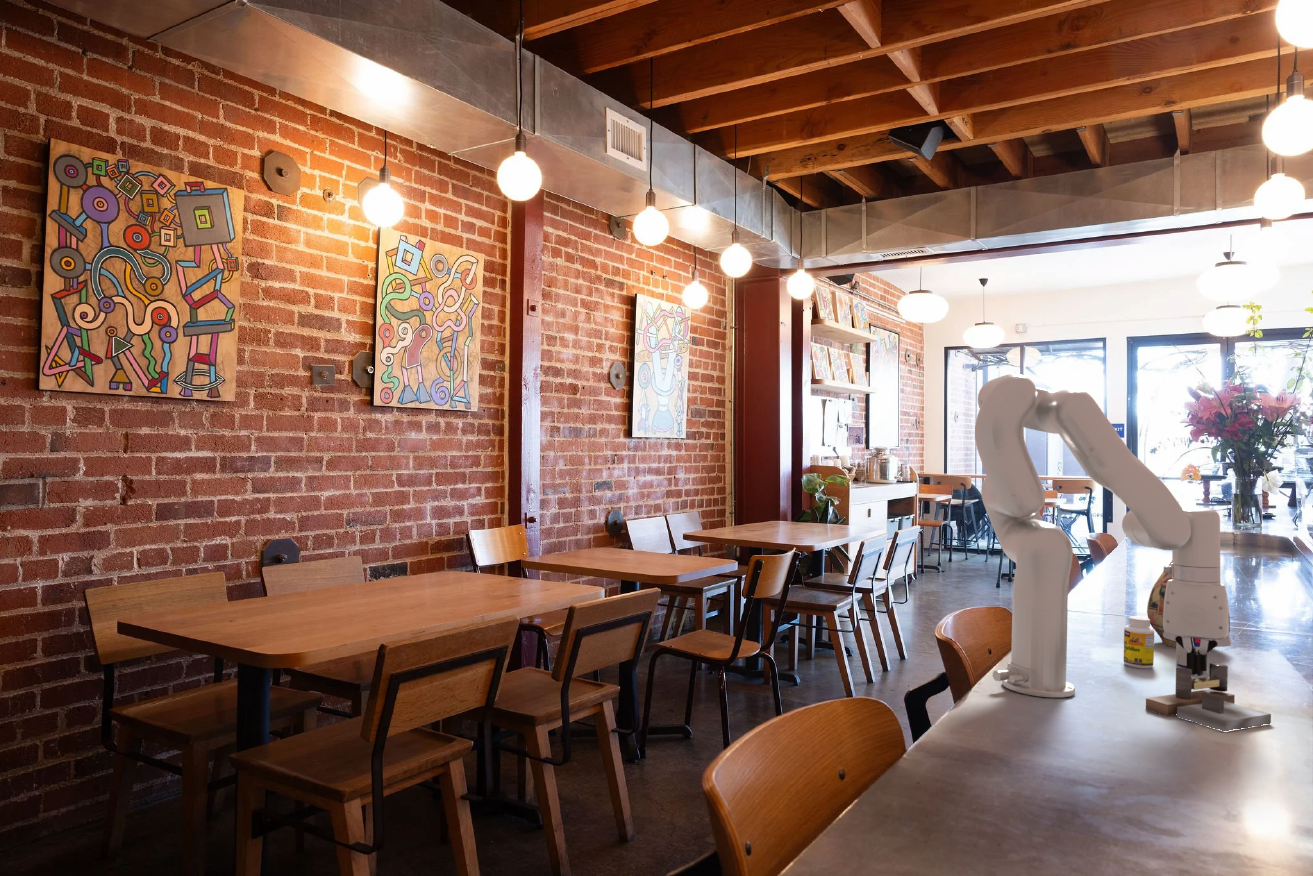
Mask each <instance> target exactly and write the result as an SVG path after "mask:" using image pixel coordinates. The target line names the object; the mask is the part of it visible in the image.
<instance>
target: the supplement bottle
mask: <svg viewBox="0 0 1313 876" xmlns="http://www.w3.org/2000/svg"><path fill="white" fill-rule="evenodd" d="M1123 629H1124V630H1123V663H1124V665H1126V666H1128V667H1131V668H1135V667H1136V669H1141V670H1142V669H1143V670H1145V669H1147V670H1149V669H1152V668H1153V667H1154V660H1155V659H1154V657H1155V656H1154V654H1155V652H1154V649H1155V630H1154V629H1153V627H1151V624H1150V619H1149V618H1148V617H1144V616H1138V615H1137V616H1136V615H1134V616H1133V615H1132V616H1129V617H1128V624H1127V625H1125V626H1124V628H1123Z"/></svg>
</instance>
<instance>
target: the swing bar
mask: <svg viewBox="0 0 1313 876" xmlns="http://www.w3.org/2000/svg"><path fill="white" fill-rule="evenodd" d="M1208 664H1209V666H1208V668H1209V669H1208V671H1209V672H1208V676H1206V677H1200V678H1199V677H1198V678H1192V690H1193V691H1197V690H1204V689H1211V690H1215V691H1222V692H1226V693H1227V692H1228V682H1229V680H1228V677H1229V670H1228V669H1229V666H1228V665H1226V664H1223V663H1216V662H1210V663H1208Z"/></svg>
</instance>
